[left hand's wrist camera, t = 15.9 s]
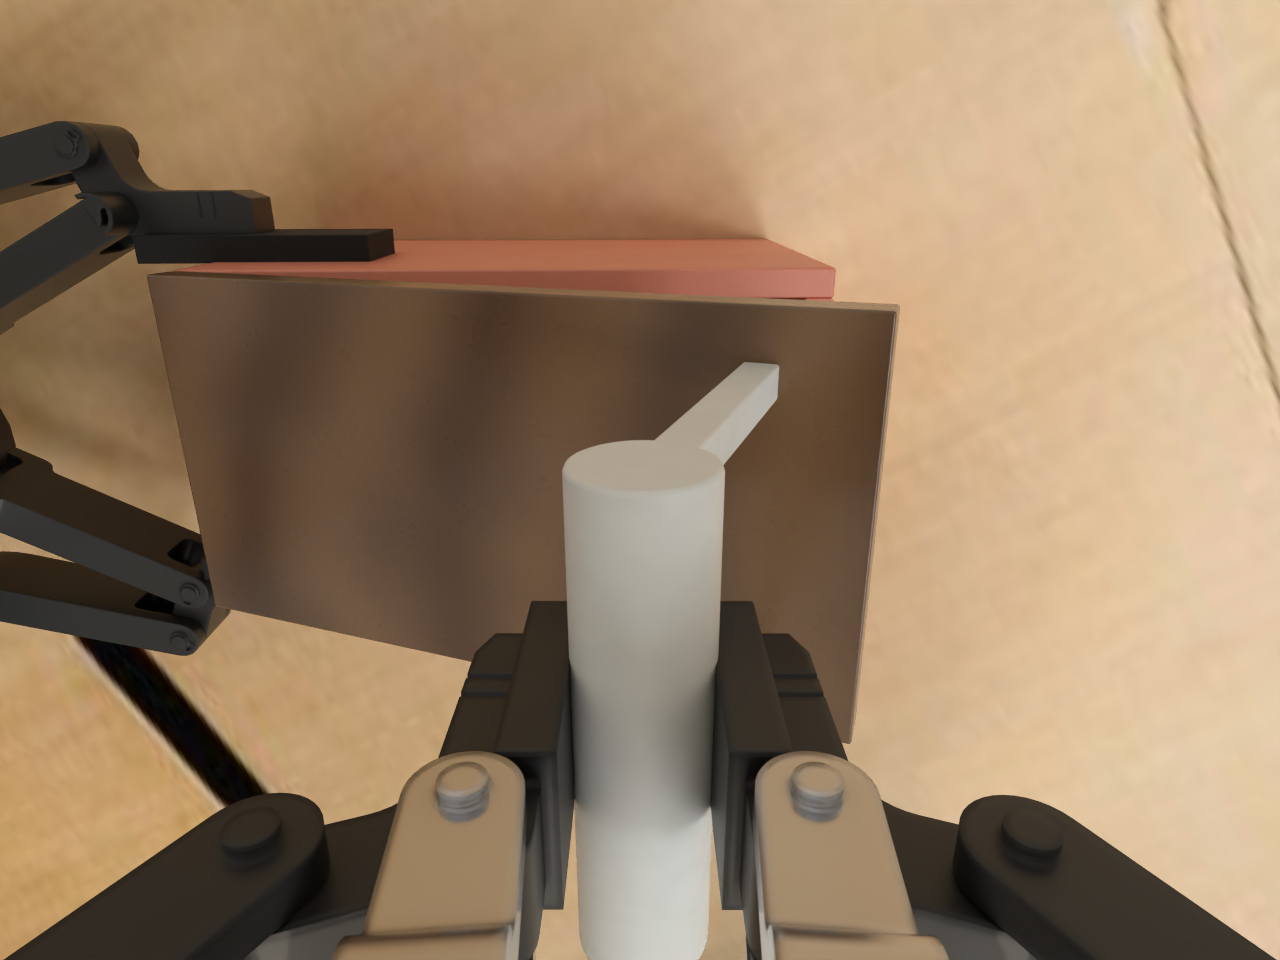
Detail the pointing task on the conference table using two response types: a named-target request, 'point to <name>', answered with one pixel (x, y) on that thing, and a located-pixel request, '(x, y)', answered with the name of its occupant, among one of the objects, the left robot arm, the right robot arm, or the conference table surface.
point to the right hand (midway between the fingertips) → (399, 407)
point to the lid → (549, 509)
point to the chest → (583, 266)
